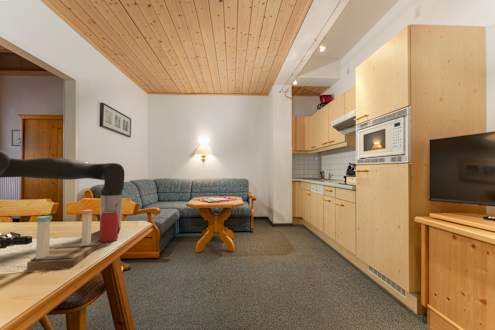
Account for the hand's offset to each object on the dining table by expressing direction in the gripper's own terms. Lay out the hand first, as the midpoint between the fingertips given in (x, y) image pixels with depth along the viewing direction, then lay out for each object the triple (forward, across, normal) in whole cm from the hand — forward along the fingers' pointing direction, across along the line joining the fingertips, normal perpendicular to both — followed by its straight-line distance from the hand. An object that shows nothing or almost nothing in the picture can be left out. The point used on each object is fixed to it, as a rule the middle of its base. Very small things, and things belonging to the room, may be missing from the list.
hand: (30, 240), depth 73 cm
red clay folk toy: (+11, +35, +8) cm, 37 cm away
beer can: (+13, +26, +8) cm, 30 cm away
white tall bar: (+10, +12, +5) cm, 17 cm away
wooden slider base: (+7, +6, +8) cm, 12 cm away
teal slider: (+3, 0, +5) cm, 6 cm away
